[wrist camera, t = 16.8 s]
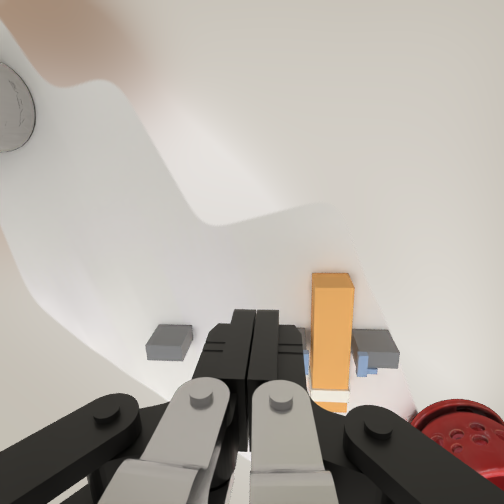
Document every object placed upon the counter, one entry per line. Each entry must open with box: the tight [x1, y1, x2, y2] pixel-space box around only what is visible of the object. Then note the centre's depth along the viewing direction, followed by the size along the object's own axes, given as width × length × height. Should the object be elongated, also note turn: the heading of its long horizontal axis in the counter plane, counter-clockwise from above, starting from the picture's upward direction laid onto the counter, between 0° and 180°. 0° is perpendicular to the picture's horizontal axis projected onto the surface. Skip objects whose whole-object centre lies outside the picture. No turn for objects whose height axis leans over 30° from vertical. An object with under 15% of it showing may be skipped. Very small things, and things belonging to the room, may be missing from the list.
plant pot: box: [411, 399, 504, 491], centre depth 39 cm, size 13×13×12 cm
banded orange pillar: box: [309, 273, 355, 413], centre depth 40 cm, size 4×16×4 cm, turn 2°
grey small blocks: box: [145, 325, 400, 377], centre depth 40 cm, size 28×3×5 cm, turn 91°
